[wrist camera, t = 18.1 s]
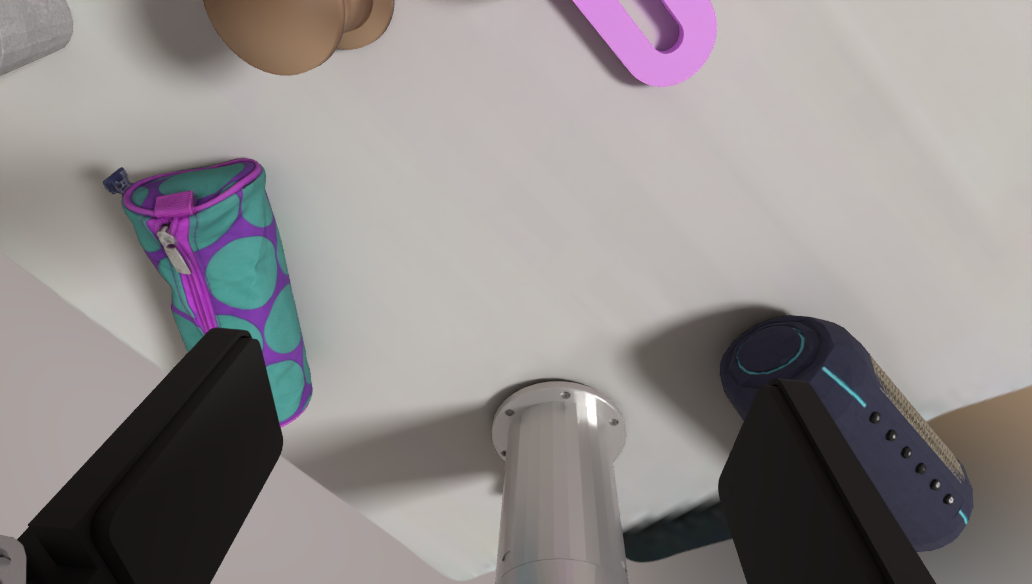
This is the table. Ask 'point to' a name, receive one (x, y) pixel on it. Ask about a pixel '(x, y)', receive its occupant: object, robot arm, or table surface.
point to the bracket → (638, 54)
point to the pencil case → (223, 264)
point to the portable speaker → (859, 420)
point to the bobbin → (296, 29)
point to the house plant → (32, 30)
